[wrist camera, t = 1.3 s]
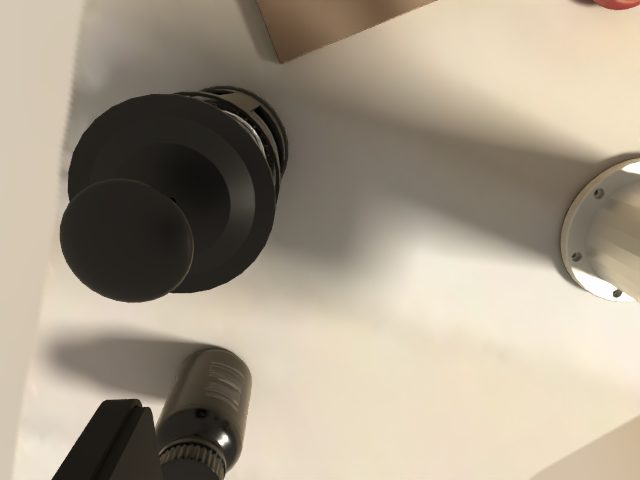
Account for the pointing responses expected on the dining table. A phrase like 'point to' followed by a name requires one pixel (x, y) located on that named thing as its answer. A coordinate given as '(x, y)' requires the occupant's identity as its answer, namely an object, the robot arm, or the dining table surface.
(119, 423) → the robot arm
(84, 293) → the dining table surface
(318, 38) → the post mount
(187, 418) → the supplement bottle
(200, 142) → the french press
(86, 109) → the dining table surface
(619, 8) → the red sauce bottle
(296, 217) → the dining table surface
